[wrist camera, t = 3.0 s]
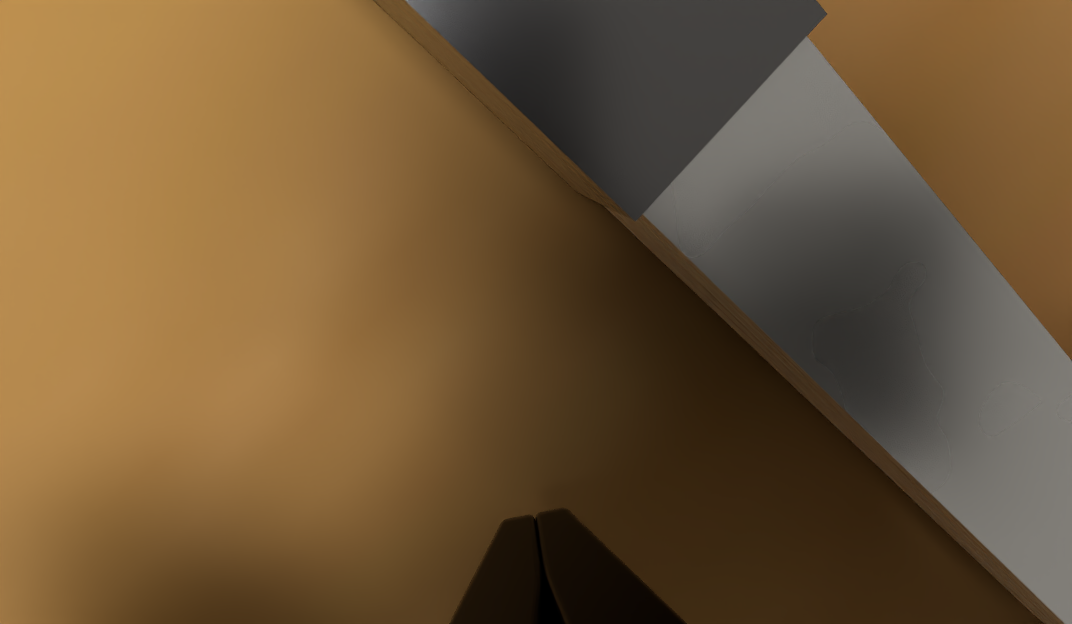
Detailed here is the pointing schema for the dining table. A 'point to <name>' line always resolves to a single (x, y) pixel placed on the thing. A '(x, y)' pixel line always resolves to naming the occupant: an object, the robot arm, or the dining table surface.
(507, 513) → the dining table surface
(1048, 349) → the tong leg
